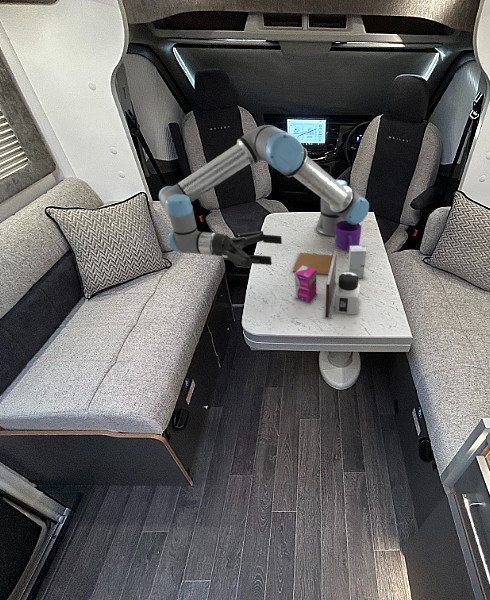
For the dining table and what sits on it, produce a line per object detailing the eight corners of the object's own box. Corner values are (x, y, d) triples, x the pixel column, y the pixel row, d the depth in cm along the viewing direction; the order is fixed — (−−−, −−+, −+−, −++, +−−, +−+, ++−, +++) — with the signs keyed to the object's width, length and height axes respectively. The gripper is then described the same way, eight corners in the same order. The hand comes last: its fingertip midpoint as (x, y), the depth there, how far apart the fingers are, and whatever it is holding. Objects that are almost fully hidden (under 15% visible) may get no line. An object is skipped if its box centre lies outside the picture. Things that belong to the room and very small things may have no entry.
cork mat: (300, 253, 147) (300, 252, 147) (332, 256, 146) (332, 255, 145) (293, 271, 137) (293, 270, 136) (327, 275, 135) (327, 274, 135)
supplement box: (295, 299, 123) (293, 272, 116) (303, 290, 127) (302, 264, 120) (309, 303, 121) (308, 277, 114) (316, 294, 125) (317, 268, 118)
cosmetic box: (348, 278, 134) (350, 251, 126) (347, 271, 137) (348, 245, 129) (363, 277, 134) (366, 251, 126) (362, 271, 137) (365, 245, 130)
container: (356, 314, 117) (359, 284, 109) (334, 312, 118) (335, 281, 110) (358, 300, 123) (361, 270, 115) (337, 298, 124) (338, 268, 116)
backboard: (332, 283, 131) (333, 251, 122) (335, 283, 131) (336, 252, 122) (325, 317, 116) (326, 284, 107) (328, 317, 116) (329, 284, 107)
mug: (333, 240, 157) (333, 220, 151) (357, 239, 158) (359, 219, 151) (336, 260, 144) (337, 239, 137) (363, 259, 144) (365, 238, 138)
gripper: (230, 236, 128) (285, 241, 125) (202, 274, 109) (267, 280, 106) (227, 218, 123) (284, 222, 121) (197, 253, 104) (265, 260, 102)
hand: (276, 249), depth 113 cm, fingers open, 13 cm apart
